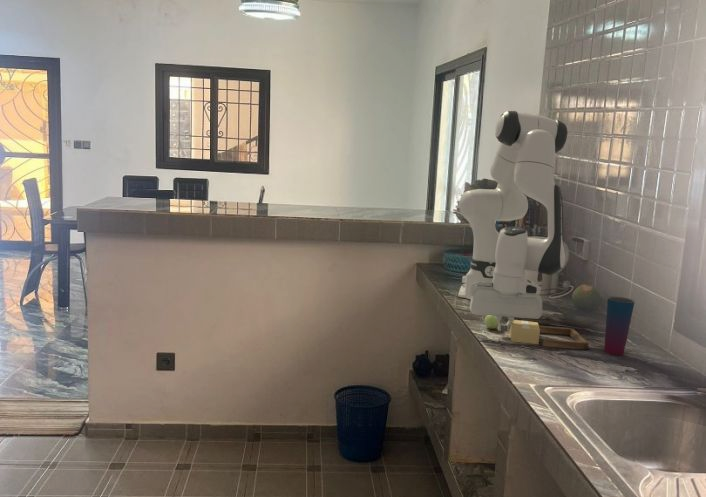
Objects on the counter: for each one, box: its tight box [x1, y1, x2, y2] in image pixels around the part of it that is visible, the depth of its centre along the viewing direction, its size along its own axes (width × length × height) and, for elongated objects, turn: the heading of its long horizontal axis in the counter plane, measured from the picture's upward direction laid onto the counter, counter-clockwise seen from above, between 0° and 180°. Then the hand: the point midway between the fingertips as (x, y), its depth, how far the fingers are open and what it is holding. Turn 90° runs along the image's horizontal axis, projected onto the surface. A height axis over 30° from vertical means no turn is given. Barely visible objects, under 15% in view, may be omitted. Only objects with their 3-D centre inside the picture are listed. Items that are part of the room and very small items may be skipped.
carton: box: [509, 319, 541, 345], centre depth 184 cm, size 8×8×4 cm
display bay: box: [539, 325, 590, 350], centre depth 185 cm, size 14×12×2 cm
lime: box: [484, 315, 501, 330], centre depth 192 cm, size 5×5×5 cm
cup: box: [603, 296, 636, 356], centre depth 176 cm, size 7×7×15 cm
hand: (503, 330), depth 185 cm, fingers closed
